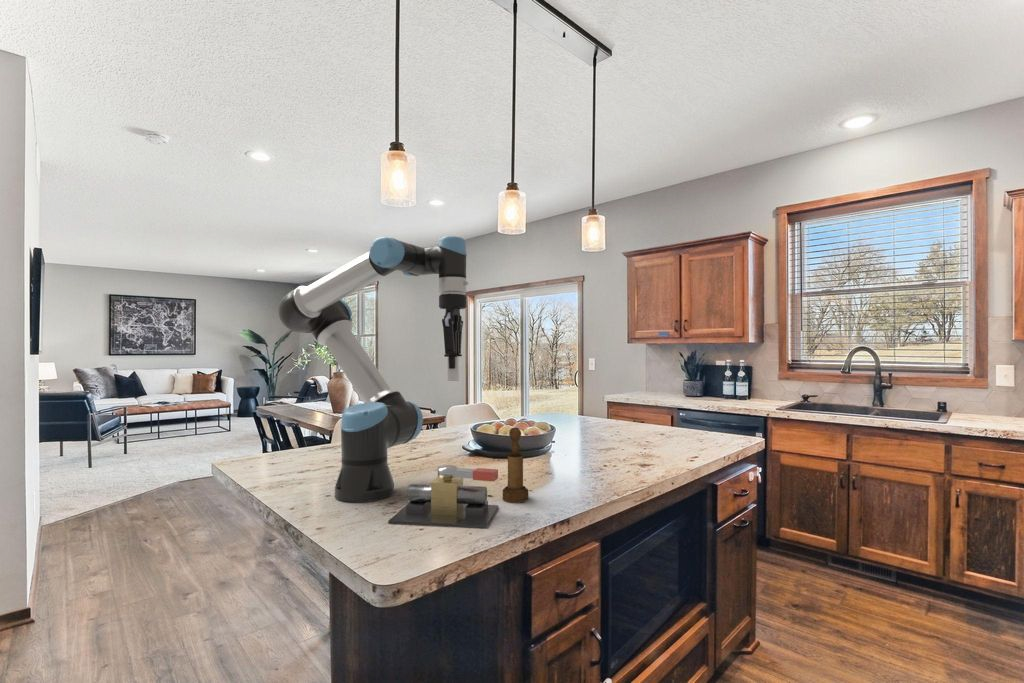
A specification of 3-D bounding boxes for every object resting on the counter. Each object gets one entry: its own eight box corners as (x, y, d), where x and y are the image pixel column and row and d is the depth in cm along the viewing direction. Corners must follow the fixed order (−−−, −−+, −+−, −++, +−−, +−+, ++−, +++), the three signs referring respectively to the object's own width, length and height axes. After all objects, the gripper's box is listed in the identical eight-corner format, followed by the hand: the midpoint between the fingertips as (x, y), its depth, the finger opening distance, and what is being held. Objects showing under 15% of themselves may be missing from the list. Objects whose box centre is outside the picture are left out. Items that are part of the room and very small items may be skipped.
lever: (434, 477, 117) (434, 468, 117) (442, 473, 122) (442, 464, 122) (492, 482, 113) (492, 473, 113) (499, 477, 117) (499, 468, 117)
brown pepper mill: (519, 504, 125) (519, 430, 125) (497, 500, 128) (497, 428, 128) (533, 497, 130) (532, 427, 131) (511, 493, 134) (511, 425, 134)
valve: (388, 523, 112) (388, 485, 112) (410, 503, 126) (410, 470, 126) (486, 528, 109) (486, 489, 109) (498, 507, 122) (498, 472, 123)
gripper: (460, 291, 133) (460, 382, 132) (471, 296, 145) (472, 379, 145) (432, 292, 134) (432, 382, 134) (446, 296, 147) (446, 379, 146)
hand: (453, 380), depth 139 cm, fingers closed
